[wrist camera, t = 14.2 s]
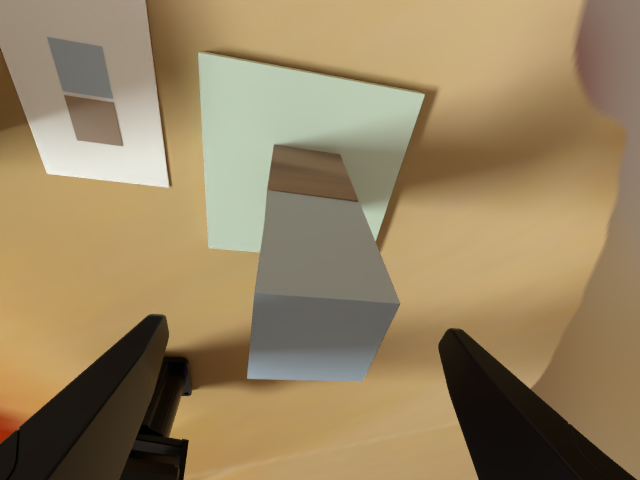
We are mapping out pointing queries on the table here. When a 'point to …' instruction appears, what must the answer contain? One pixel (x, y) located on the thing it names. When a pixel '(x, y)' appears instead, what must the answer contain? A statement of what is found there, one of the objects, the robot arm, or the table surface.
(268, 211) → the gray block
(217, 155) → the plate
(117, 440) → the robot arm
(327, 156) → the walnut block
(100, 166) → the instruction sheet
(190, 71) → the table surface
